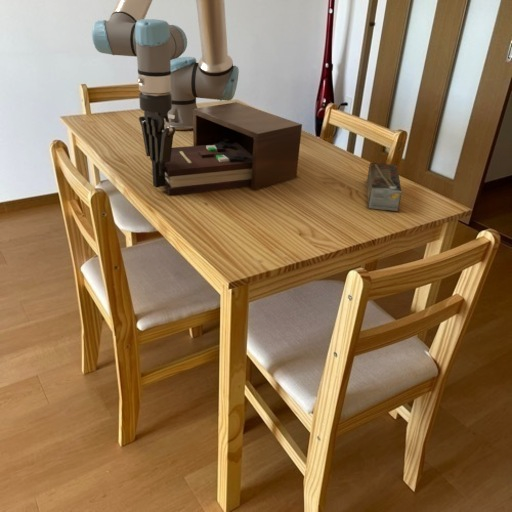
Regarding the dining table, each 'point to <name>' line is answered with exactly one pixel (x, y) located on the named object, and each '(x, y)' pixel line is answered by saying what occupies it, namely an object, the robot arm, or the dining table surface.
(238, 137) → the walnut shelf
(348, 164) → the dining table surface
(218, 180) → the decorative book
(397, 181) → the beverage carton
